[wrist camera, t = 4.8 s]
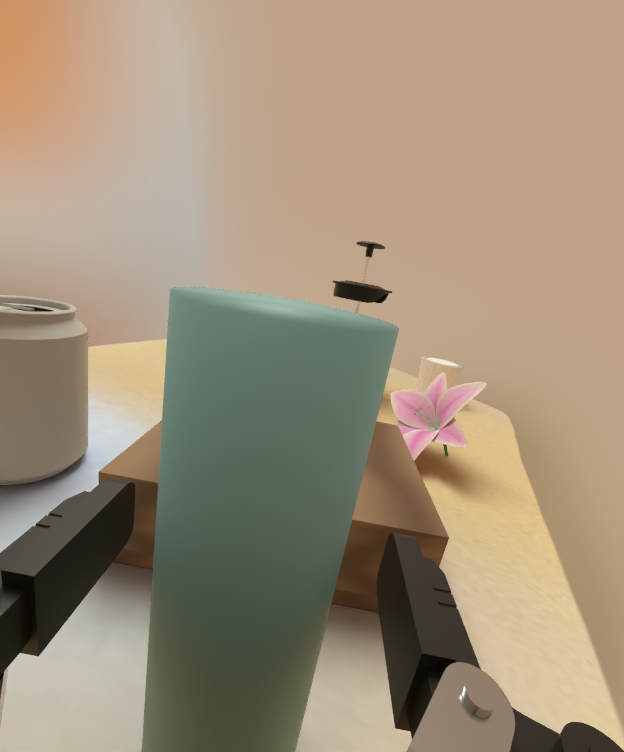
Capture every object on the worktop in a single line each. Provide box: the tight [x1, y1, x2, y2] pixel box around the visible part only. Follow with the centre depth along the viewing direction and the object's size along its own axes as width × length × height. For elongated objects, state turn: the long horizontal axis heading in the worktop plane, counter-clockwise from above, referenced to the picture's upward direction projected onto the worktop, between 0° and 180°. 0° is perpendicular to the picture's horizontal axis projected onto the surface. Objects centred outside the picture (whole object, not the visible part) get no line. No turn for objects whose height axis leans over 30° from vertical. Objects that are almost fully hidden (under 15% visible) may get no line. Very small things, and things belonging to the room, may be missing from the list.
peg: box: [142, 287, 399, 752], centre depth 10 cm, size 5×5×16 cm
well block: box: [99, 420, 449, 612], centre depth 25 cm, size 18×14×6 cm
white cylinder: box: [416, 357, 463, 394], centre depth 60 cm, size 7×7×7 cm
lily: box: [391, 372, 486, 461], centre depth 38 cm, size 12×12×10 cm
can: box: [0, 295, 88, 485], centre depth 24 cm, size 8×8×12 cm
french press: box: [333, 241, 392, 313], centre depth 53 cm, size 12×9×23 cm
